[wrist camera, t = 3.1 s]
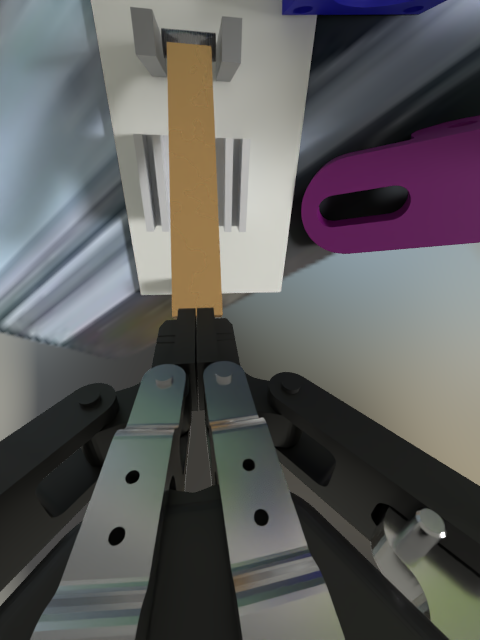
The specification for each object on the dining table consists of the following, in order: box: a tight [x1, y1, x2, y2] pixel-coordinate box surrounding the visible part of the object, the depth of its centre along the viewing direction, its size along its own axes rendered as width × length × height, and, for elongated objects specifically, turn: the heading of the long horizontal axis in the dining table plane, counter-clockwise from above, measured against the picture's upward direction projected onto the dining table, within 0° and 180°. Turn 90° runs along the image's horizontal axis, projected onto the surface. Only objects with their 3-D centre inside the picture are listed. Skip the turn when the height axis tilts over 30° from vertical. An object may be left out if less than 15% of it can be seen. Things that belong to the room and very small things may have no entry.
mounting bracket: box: [301, 115, 480, 254], centre depth 29 cm, size 9×8×18 cm
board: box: [91, 0, 317, 295], centre depth 25 cm, size 17×26×8 cm, turn 178°
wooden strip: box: [161, 28, 223, 319], centre depth 17 cm, size 19×3×1 cm
